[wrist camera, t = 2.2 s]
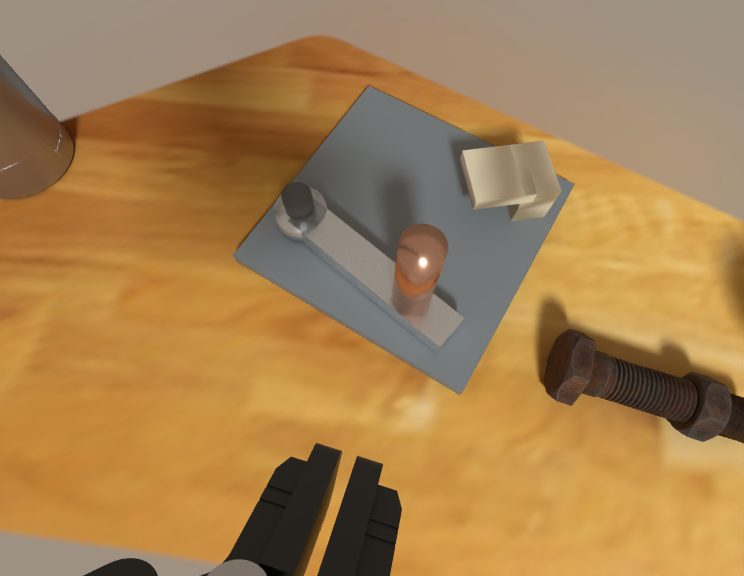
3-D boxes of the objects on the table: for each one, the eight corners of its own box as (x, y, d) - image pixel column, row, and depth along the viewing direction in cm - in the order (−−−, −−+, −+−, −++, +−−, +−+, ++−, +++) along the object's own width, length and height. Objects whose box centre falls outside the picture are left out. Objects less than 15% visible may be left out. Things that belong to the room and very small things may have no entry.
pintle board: (459, 394, 37) (474, 381, 32) (236, 261, 41) (217, 230, 36) (569, 191, 44) (596, 153, 39) (368, 94, 48) (368, 48, 43)
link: (267, 222, 41) (232, 138, 31) (303, 190, 42) (281, 99, 32) (430, 359, 36) (453, 315, 26) (465, 319, 38) (499, 261, 27)
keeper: (466, 227, 41) (476, 201, 37) (454, 179, 43) (462, 150, 39) (544, 217, 41) (561, 191, 38) (529, 170, 43) (544, 140, 39)
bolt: (721, 438, 38) (537, 380, 39) (747, 380, 37) (558, 323, 38) (773, 476, 32) (556, 406, 33) (805, 409, 31) (581, 340, 32)
